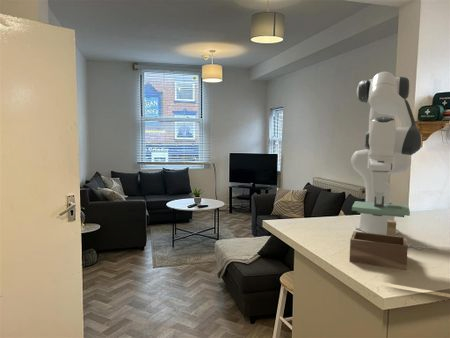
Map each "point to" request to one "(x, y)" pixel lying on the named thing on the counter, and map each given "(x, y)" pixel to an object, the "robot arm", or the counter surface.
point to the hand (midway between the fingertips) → (379, 202)
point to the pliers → (418, 247)
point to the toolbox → (379, 250)
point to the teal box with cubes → (381, 208)
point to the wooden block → (391, 227)
